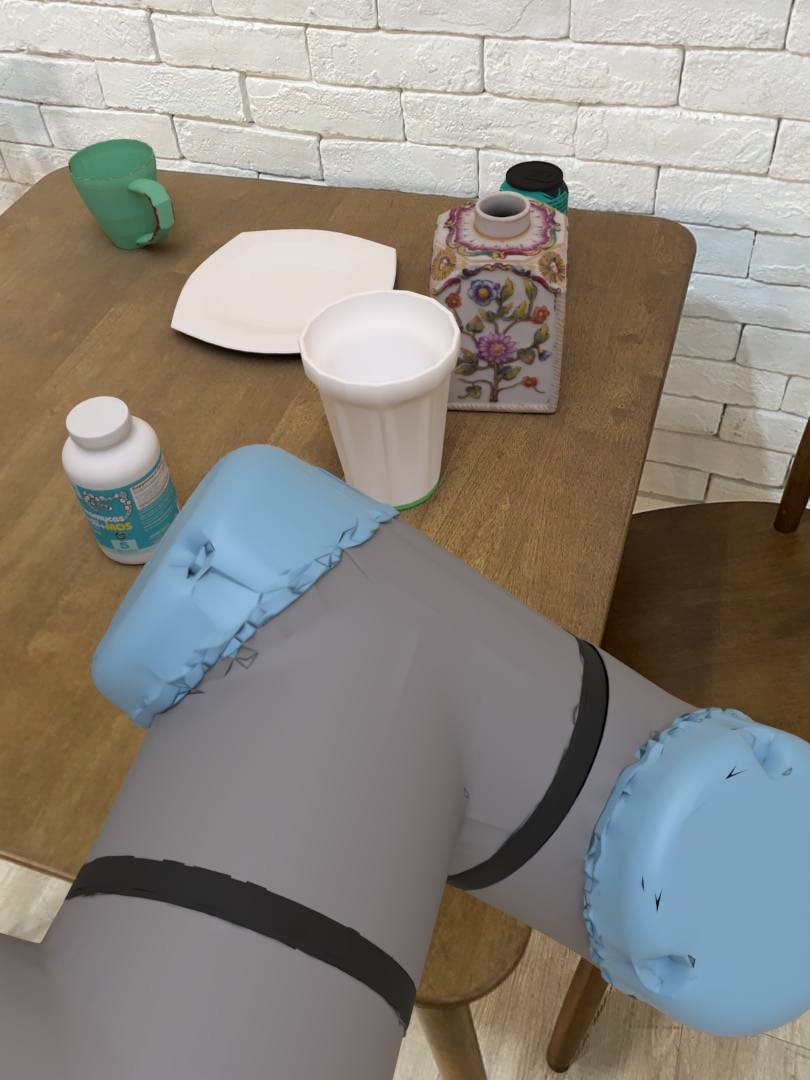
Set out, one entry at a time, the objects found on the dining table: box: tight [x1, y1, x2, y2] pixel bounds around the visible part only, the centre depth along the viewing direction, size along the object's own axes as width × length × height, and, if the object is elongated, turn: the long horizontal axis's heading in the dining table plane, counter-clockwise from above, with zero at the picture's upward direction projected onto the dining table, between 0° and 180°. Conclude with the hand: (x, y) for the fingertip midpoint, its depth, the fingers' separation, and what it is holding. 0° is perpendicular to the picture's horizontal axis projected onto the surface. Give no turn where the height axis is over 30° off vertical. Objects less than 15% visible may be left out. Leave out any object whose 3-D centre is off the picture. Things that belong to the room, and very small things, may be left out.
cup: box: [298, 289, 460, 511], centre depth 77 cm, size 12×12×15 cm
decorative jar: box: [427, 190, 571, 414], centre depth 85 cm, size 12×12×18 cm
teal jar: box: [498, 160, 570, 217], centre depth 98 cm, size 7×7×12 cm
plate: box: [170, 228, 397, 355], centre depth 102 cm, size 23×23×2 cm
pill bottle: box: [61, 395, 183, 565], centre depth 75 cm, size 8×7×14 cm
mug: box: [67, 138, 176, 250], centre depth 108 cm, size 15×10×10 cm
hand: (335, 694), depth 58 cm, fingers closed
